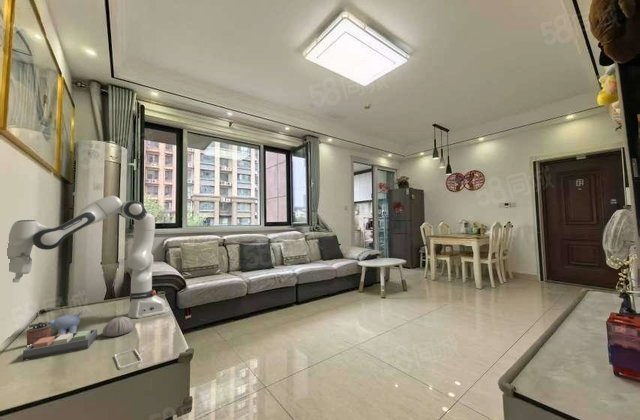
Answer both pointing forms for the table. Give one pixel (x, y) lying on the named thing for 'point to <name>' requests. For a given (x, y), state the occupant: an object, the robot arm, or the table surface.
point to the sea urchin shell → (118, 326)
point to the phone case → (128, 364)
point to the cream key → (63, 338)
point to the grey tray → (59, 347)
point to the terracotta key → (44, 342)
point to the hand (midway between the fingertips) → (9, 280)
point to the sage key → (81, 335)
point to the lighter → (38, 332)
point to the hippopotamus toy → (66, 323)
